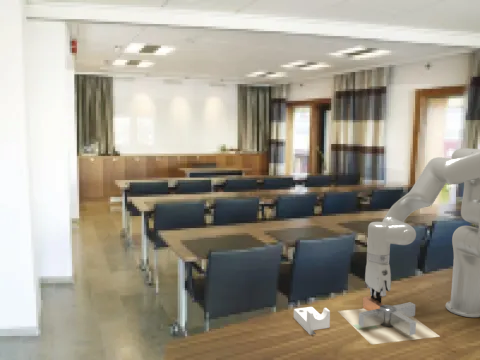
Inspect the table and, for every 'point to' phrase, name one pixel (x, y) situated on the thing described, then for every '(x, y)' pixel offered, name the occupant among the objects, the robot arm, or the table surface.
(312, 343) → the table surface
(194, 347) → the table surface
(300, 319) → the bracket
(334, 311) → the table surface
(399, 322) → the capstan
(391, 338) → the base plate
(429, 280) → the table surface
